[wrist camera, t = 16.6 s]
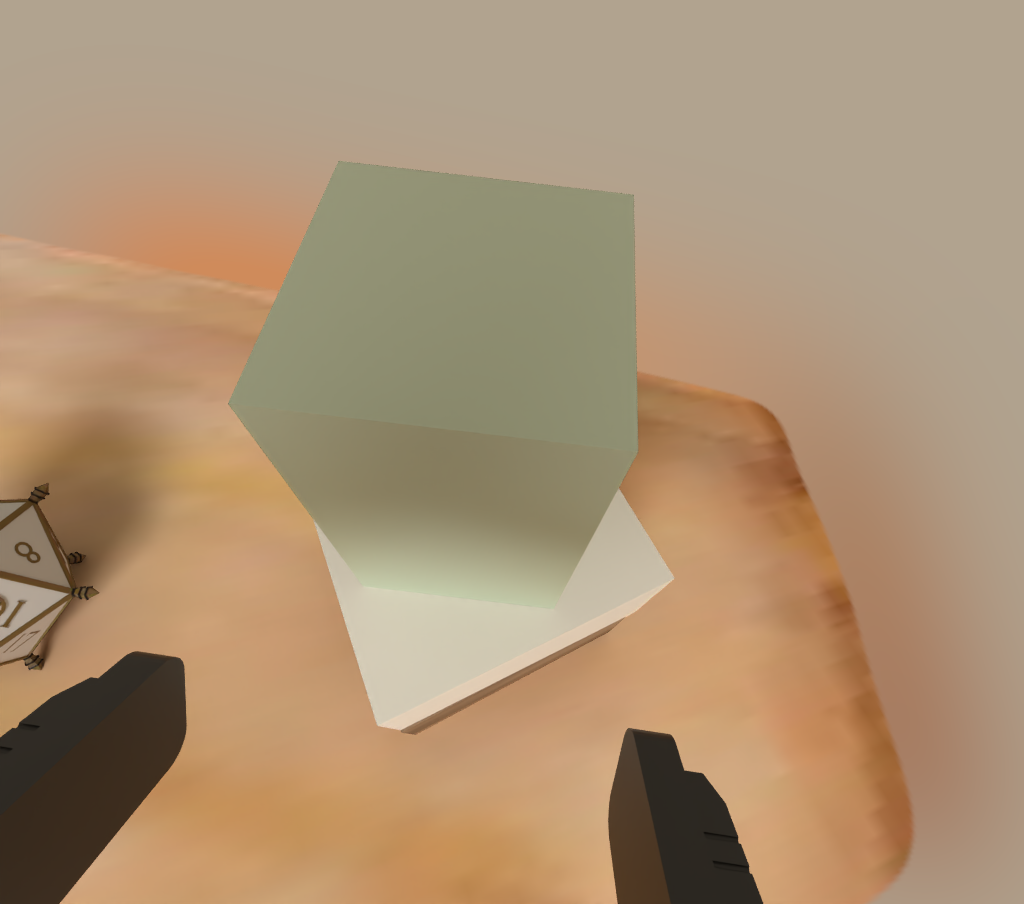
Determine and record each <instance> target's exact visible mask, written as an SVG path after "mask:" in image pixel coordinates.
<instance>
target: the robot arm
mask: <svg viewBox="0 0 1024 904" xmlns="http://www.w3.org/2000/svg"><path fill="white" fill-rule="evenodd" d="M185 734H186V699H185V673H184V664H183V662H182V660H181V659H180V658H177V657H171V656H165V655H158V654H152V653H145V652H139V651H137V652H132V653H130V654H128V655H126V656H125V657H124V658H122V659H121V660H120V661H119V662H117V663H116V664H115V665H114V666H113V667H111V668H110V669H109V670H108V671H107V672H105V673H104V674H103V675H102V676H101V677H99V678H89V679H87V680H85V681H83V682H81V683H79V684H77V685H75V686H73V687H71V688H69V689H67V690H65V691H63V692H61V693H59V694H57V695H55V696H53V697H51V698H50V699H49V700H47V701H46V702H45V703H44V704H42V705H41V706H40V707H39V708H37V709H36V710H35V711H34V712H32V713H31V714H30V715H28V716H27V717H26V718H25V719H23V720H22V721H21V722H20V723H19V725H18V727H17V728H12V729H11V730H9V731H8V732H7V733H6V734H4V735H3V736H2V737H0V904H59V903H60V902H61V901H62V900H63V898H64V897H65V896H66V895H67V894H68V892H69V891H70V890H71V889H72V887H73V886H74V885H75V884H76V882H77V881H78V880H79V879H80V878H81V876H82V875H83V874H84V873H85V871H86V870H87V869H88V868H89V867H90V865H91V864H92V863H93V862H94V860H95V859H96V858H97V857H98V855H99V854H100V853H101V852H102V851H103V849H104V848H105V847H106V846H107V844H108V843H109V842H110V841H111V840H112V838H113V837H114V836H115V835H116V833H117V832H118V831H119V830H120V828H121V827H122V826H123V825H124V824H125V822H126V821H127V820H128V819H129V817H130V816H131V815H132V814H133V813H134V811H135V810H136V809H137V808H138V806H139V805H140V804H141V803H142V801H143V800H144V799H145V798H146V797H147V795H148V794H149V793H150V792H151V790H152V789H153V788H154V787H155V786H156V784H157V783H158V782H159V781H160V779H161V778H162V777H163V776H164V775H165V773H166V772H167V771H168V770H169V768H170V767H171V766H172V764H173V763H174V761H175V759H176V758H177V756H178V754H179V752H180V750H181V747H182V745H183V742H184V738H185ZM608 825H609V840H610V848H611V855H612V863H613V871H614V878H615V886H616V894H617V902H618V904H763V902H762V899H761V896H760V894H759V891H758V888H757V886H756V883H755V880H754V878H753V875H752V874H750V872H749V864H748V862H747V859H746V856H745V854H744V851H743V848H742V846H741V844H739V843H738V835H737V832H736V830H735V827H734V824H733V822H732V819H731V816H730V814H729V811H728V808H727V806H726V803H725V802H724V801H723V799H722V798H721V797H720V795H719V794H718V793H717V791H716V790H715V789H714V788H713V786H712V785H711V784H710V782H709V781H708V780H707V778H706V777H705V776H704V774H703V773H697V772H690V771H684V768H683V765H682V762H681V759H680V755H679V752H678V749H677V746H676V743H675V740H674V738H673V737H672V735H670V734H664V733H658V732H651V731H645V730H638V729H632V728H628V729H627V731H626V733H625V735H624V739H623V744H622V748H621V752H620V756H619V761H618V765H617V769H616V773H615V778H614V782H613V786H612V790H611V795H610V802H609V817H608Z"/></svg>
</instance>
